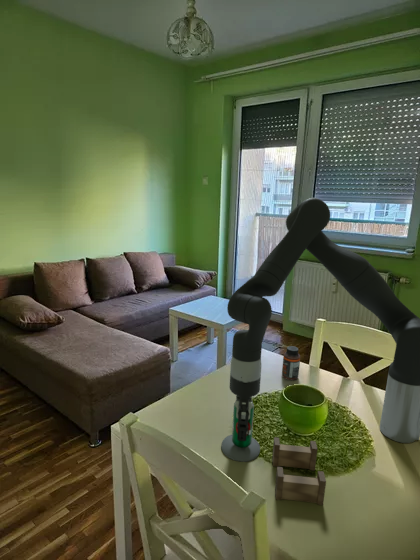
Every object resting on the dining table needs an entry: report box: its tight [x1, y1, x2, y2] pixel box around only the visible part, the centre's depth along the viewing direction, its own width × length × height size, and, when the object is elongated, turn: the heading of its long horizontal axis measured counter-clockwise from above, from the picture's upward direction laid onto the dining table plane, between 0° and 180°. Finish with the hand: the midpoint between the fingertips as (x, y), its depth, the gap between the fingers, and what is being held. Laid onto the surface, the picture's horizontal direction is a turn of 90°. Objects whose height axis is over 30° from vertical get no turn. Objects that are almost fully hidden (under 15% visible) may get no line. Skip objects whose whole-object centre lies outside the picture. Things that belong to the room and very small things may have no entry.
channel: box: [271, 436, 327, 506], centre depth 83 cm, size 10×13×6 cm
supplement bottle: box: [281, 345, 301, 381], centre depth 131 cm, size 6×6×11 cm
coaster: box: [221, 434, 261, 463], centre depth 94 cm, size 10×10×1 cm
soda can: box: [231, 400, 255, 448], centre depth 92 cm, size 5×5×12 cm
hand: (241, 432), depth 93 cm, fingers closed on soda can, 5 cm apart
